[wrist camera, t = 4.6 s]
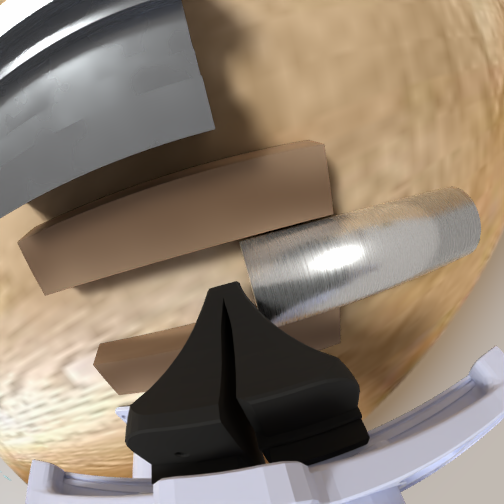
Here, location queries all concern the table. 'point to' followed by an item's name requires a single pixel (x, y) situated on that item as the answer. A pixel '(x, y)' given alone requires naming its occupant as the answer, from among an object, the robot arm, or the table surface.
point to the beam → (182, 240)
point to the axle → (358, 253)
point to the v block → (91, 88)
